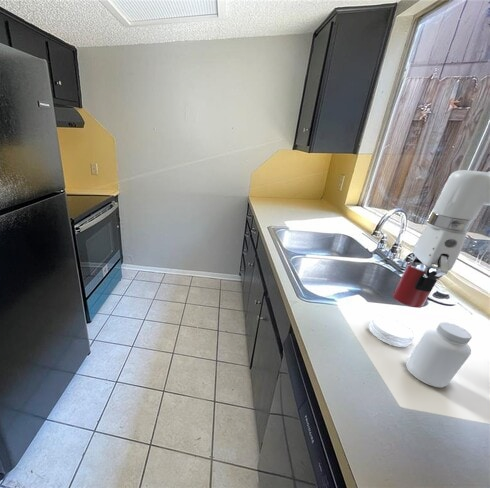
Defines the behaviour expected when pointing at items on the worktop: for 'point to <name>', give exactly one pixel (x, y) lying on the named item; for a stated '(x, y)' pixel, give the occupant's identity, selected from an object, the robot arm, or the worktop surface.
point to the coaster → (391, 331)
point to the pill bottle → (440, 354)
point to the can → (411, 286)
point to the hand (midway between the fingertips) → (416, 282)
